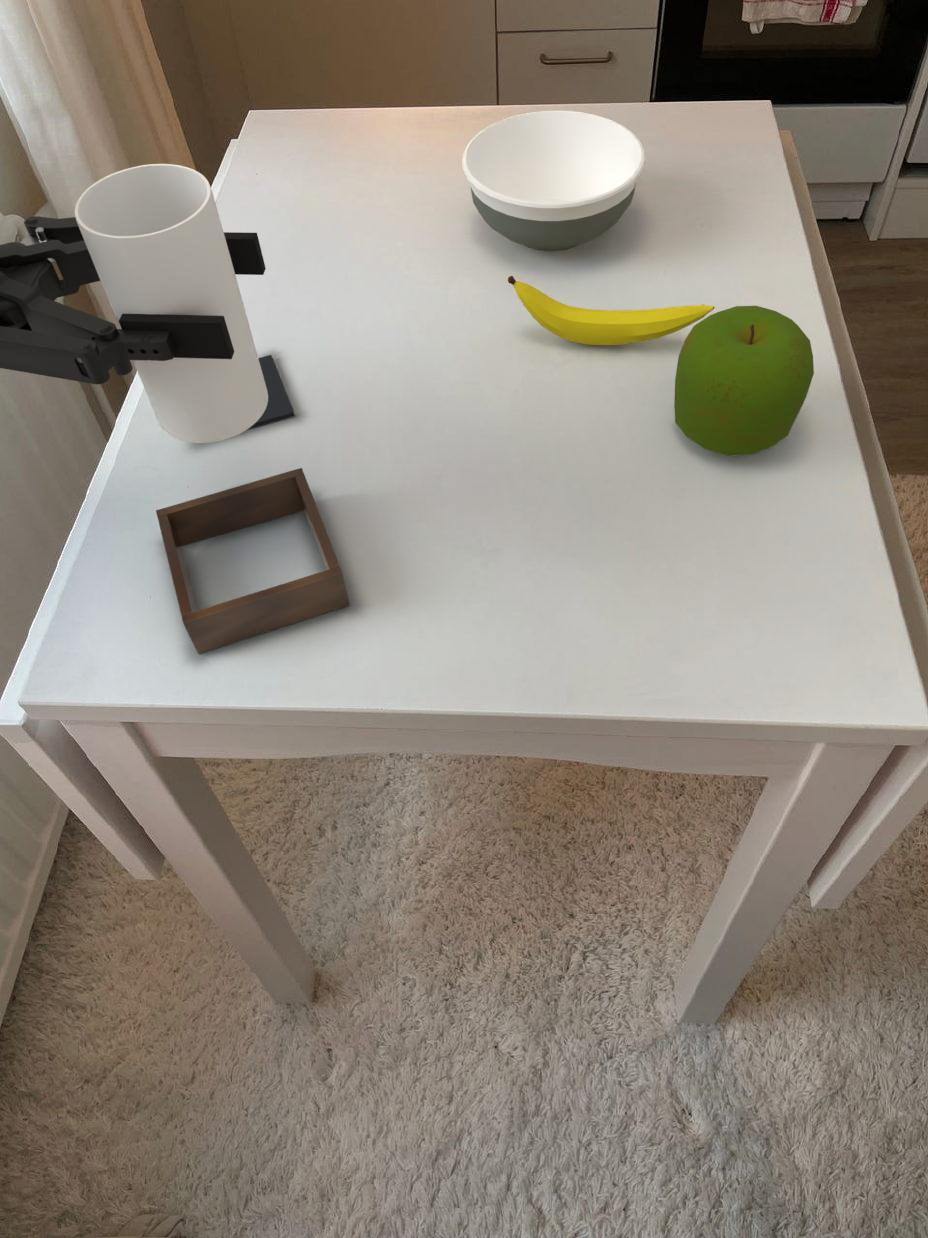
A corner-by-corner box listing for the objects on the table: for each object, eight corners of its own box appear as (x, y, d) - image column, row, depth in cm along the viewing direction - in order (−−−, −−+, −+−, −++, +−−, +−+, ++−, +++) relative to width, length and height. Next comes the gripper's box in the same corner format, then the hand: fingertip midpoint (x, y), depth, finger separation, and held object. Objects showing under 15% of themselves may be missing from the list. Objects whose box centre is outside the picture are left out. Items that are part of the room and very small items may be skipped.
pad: (199, 443, 86) (197, 439, 86) (181, 383, 91) (179, 379, 91) (295, 416, 88) (294, 412, 87) (272, 358, 93) (271, 354, 93)
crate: (198, 654, 72) (183, 623, 69) (170, 542, 79) (155, 510, 76) (350, 605, 74) (342, 573, 71) (310, 501, 81) (301, 467, 78)
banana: (705, 361, 90) (716, 303, 84) (506, 343, 92) (505, 286, 87) (706, 341, 91) (718, 283, 86) (511, 324, 94) (510, 267, 89)
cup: (279, 369, 72) (226, 163, 59) (253, 445, 67) (189, 239, 54) (174, 366, 73) (100, 162, 60) (142, 441, 68) (53, 236, 55)
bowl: (450, 196, 108) (446, 123, 102) (609, 171, 110) (615, 97, 103) (485, 292, 97) (482, 217, 91) (661, 263, 99) (671, 187, 92)
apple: (773, 486, 80) (804, 383, 71) (650, 449, 83) (666, 347, 74) (808, 403, 85) (841, 299, 77) (692, 372, 89) (710, 269, 80)
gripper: (2, 247, 73) (289, 251, 71) (-124, 437, 61) (218, 450, 59) (-45, 151, 67) (267, 152, 65) (-195, 341, 55) (184, 350, 53)
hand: (244, 293), depth 62 cm, fingers closed on cup, 8 cm apart
